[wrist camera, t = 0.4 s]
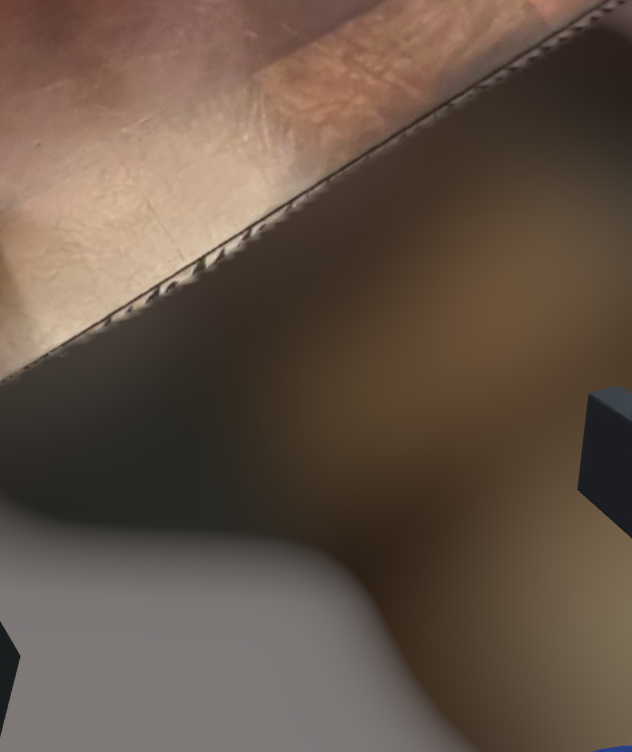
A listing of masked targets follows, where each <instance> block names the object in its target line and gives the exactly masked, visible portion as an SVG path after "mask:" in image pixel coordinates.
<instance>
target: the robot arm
mask: <svg viewBox="0 0 632 752" xmlns="http://www.w3.org/2000/svg"><path fill="white" fill-rule="evenodd" d="M577 490H578V491H580V492H581V493H582V494H583V495H584V496H585V497H586V498H588V500H590V501H591V502H592V503H593V504H594V505H595V506H596V507H598V508H599V509H600V510H601V511H602V512H603V513H604V514H605V515H606V516H608V517H609V518H610V519H611V520H612V521H613V522H614V523H615V524H617V525H618V526H619V527H620V528H621V529H622V530H623V531H624V532H626V533H627V534H628V535H629V536H630V537H631V538H632V394H631V393H630V392H628V391H627V390H625V389H623V388H622V387H620V386H614V387H611V388H607V389H603V390H600V391H595V392H592V393H589V396H588V404H587V412H586V421H585V431H584V438H583V446H582V455H581V463H580V472H579V481H578V489H577ZM19 660H20V654H19V653H18V651H17V649H16V648H15V646H14V644H13V642H12V641H11V639H10V637H9V635H8V634H7V632H6V630H5V629H4V627H3V625H2V623H1V622H0V735H1V731H2V727H3V724H4V719H5V716H6V712H7V708H8V703H9V700H10V696H11V692H12V687H13V684H14V680H15V676H16V672H17V668H18V664H19Z"/></svg>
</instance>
